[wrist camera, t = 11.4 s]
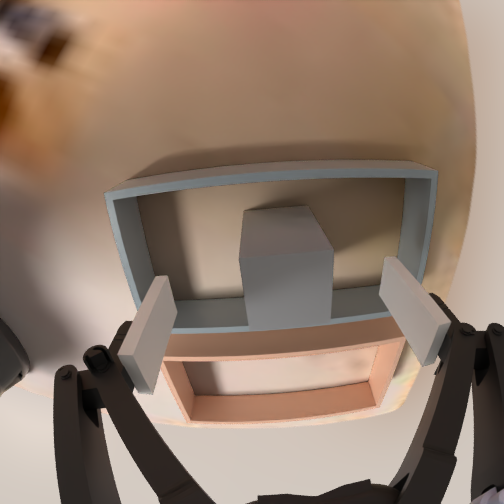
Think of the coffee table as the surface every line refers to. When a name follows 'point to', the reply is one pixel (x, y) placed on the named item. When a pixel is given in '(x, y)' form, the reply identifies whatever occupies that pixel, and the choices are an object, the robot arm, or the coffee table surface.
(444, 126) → the coffee table surface
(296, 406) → the trough
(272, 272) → the stone block
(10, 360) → the robot arm
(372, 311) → the trough
